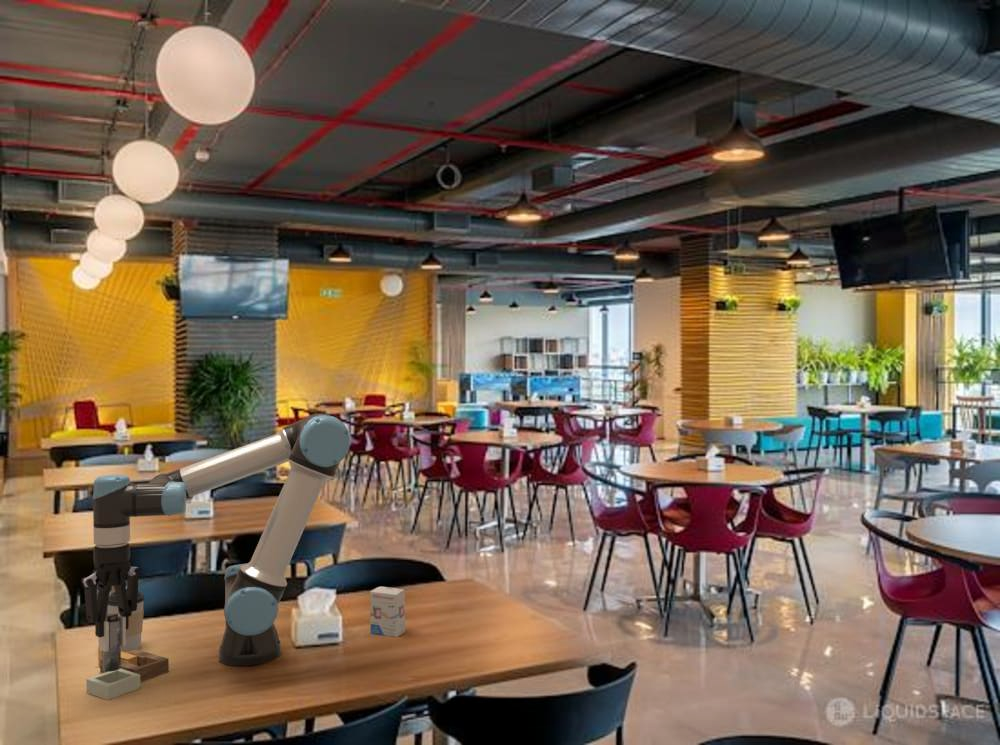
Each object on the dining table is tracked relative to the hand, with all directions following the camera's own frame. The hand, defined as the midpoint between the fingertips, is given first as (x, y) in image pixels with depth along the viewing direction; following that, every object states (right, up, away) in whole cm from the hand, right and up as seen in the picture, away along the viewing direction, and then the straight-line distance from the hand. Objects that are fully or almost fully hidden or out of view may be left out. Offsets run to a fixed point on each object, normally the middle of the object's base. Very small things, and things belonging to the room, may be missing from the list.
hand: (112, 647), depth 190 cm
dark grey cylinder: (0, -5, 0) cm, 5 cm away
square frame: (0, -10, 0) cm, 10 cm away
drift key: (-5, -9, +15) cm, 18 cm away
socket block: (0, -10, +11) cm, 15 cm away
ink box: (+57, -9, +39) cm, 70 cm away
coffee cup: (-9, -10, +27) cm, 31 cm away
